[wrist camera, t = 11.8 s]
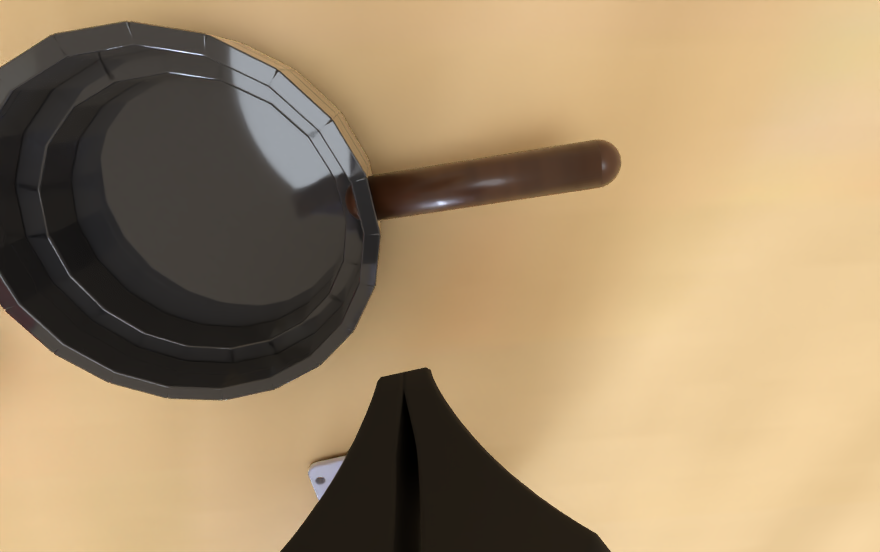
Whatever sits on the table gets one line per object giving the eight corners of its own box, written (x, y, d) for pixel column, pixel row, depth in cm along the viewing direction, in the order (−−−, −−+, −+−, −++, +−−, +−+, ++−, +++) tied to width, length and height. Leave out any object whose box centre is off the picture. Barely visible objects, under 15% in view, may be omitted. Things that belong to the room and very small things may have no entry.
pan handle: (352, 218, 17) (348, 245, 15) (341, 177, 17) (335, 197, 14) (591, 170, 18) (630, 187, 15) (590, 128, 17) (630, 138, 14)
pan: (404, 312, 22) (410, 360, 18) (133, 370, 21) (82, 431, 17) (334, 5, 16) (322, -14, 13) (-33, 70, 16) (-156, 69, 12)
